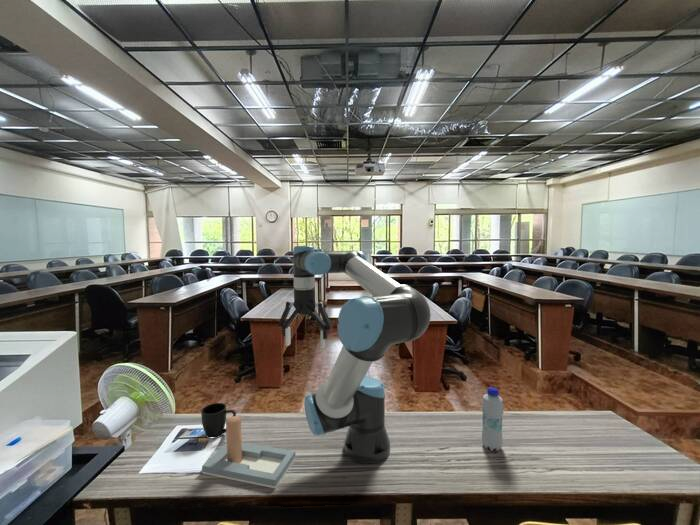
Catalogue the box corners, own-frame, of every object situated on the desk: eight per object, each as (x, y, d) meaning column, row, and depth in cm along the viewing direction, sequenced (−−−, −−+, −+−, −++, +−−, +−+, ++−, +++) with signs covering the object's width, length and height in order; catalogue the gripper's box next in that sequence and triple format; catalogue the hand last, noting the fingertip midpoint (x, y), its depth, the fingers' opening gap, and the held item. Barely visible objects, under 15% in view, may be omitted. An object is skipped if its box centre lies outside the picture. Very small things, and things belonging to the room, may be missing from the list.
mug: (230, 442, 111) (229, 415, 110) (197, 440, 112) (196, 413, 111) (240, 428, 119) (240, 403, 118) (210, 427, 120) (209, 402, 120)
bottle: (492, 438, 111) (493, 382, 110) (507, 450, 105) (508, 390, 104) (476, 443, 109) (477, 385, 108) (491, 455, 102) (492, 393, 101)
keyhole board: (295, 458, 102) (295, 451, 102) (275, 488, 89) (275, 480, 89) (229, 447, 108) (229, 440, 108) (202, 473, 95) (202, 465, 95)
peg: (245, 457, 102) (243, 417, 101) (237, 466, 97) (235, 424, 97) (232, 455, 103) (231, 415, 102) (224, 464, 98) (222, 422, 98)
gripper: (340, 287, 116) (341, 345, 117) (277, 286, 123) (279, 341, 124) (334, 290, 109) (334, 352, 110) (268, 288, 115) (269, 347, 116)
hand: (305, 346), depth 117 cm, fingers open, 13 cm apart
